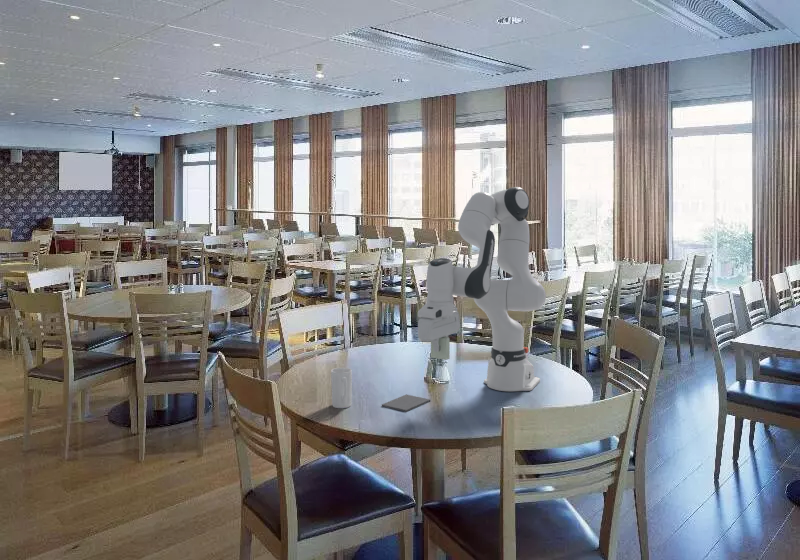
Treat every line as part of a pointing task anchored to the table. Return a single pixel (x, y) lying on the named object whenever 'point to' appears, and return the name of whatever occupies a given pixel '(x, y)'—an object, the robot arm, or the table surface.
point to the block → (442, 349)
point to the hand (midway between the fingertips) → (439, 350)
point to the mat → (406, 403)
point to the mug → (341, 387)
